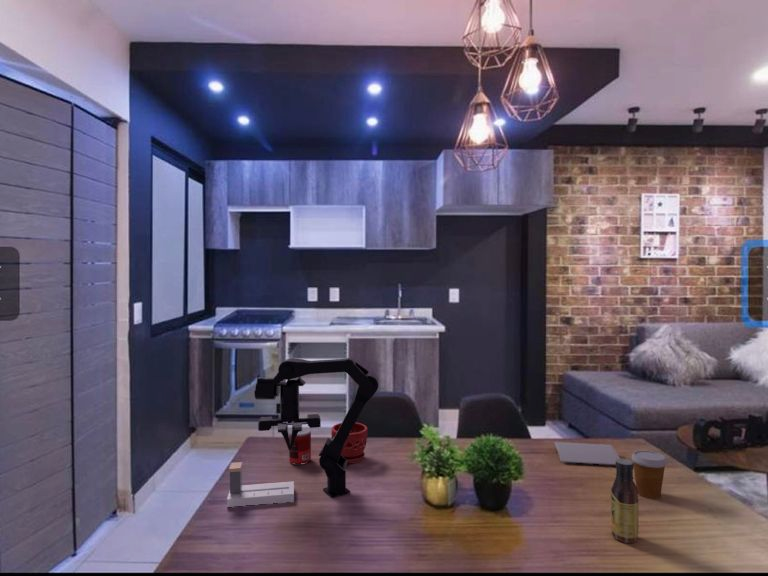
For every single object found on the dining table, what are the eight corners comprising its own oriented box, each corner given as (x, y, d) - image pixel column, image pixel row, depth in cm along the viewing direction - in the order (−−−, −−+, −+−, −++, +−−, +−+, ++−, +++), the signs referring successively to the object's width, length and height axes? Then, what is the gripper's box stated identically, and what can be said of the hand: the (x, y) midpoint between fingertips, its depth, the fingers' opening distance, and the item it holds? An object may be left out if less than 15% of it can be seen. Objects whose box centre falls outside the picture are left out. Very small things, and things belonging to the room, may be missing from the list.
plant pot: (325, 464, 173) (325, 430, 173) (339, 451, 186) (339, 420, 185) (360, 468, 169) (360, 433, 169) (372, 454, 182) (372, 423, 182)
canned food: (313, 457, 179) (313, 427, 179) (307, 465, 171) (307, 434, 171) (293, 456, 180) (292, 427, 180) (286, 465, 172) (286, 434, 172)
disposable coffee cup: (630, 497, 146) (631, 457, 146) (631, 485, 154) (631, 447, 154) (667, 504, 141) (667, 463, 141) (665, 491, 150) (666, 452, 150)
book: (549, 450, 187) (549, 440, 187) (613, 453, 184) (613, 443, 184) (556, 465, 172) (557, 454, 172) (626, 469, 168) (626, 458, 168)
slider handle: (242, 486, 147) (242, 462, 147) (240, 493, 143) (240, 468, 142) (231, 487, 147) (231, 462, 147) (229, 494, 142) (229, 468, 142)
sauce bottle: (614, 529, 127) (614, 454, 127) (640, 537, 123) (641, 459, 123) (607, 539, 122) (607, 461, 122) (634, 548, 118) (635, 467, 118)
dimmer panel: (294, 489, 152) (293, 481, 152) (294, 502, 143) (293, 493, 143) (231, 494, 149) (230, 486, 149) (227, 507, 140) (226, 499, 140)
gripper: (318, 392, 160) (318, 439, 160) (260, 395, 157) (260, 443, 157) (320, 400, 149) (320, 451, 149) (257, 403, 146) (258, 455, 146)
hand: (290, 449), depth 151 cm, fingers closed
